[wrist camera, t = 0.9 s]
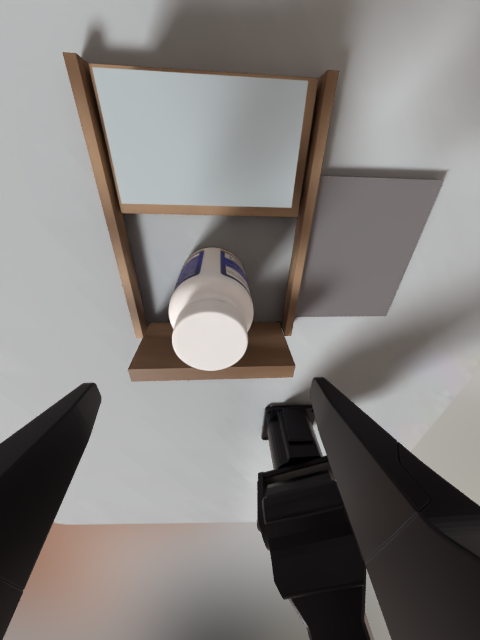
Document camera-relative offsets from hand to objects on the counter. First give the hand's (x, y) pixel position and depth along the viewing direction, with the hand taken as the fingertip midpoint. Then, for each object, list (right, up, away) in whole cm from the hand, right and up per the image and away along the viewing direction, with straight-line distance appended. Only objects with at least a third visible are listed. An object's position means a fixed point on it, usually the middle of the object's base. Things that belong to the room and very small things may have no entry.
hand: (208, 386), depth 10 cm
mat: (+11, +8, +10) cm, 16 cm away
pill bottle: (-1, +6, +10) cm, 12 cm away
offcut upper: (0, +12, +3) cm, 12 cm away
